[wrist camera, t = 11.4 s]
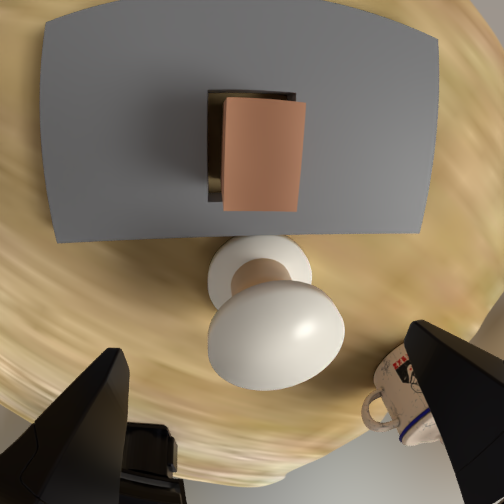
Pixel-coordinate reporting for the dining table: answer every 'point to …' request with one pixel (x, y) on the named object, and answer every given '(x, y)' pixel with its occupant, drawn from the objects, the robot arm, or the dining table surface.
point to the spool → (269, 315)
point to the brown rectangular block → (261, 154)
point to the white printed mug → (401, 401)
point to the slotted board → (233, 81)
